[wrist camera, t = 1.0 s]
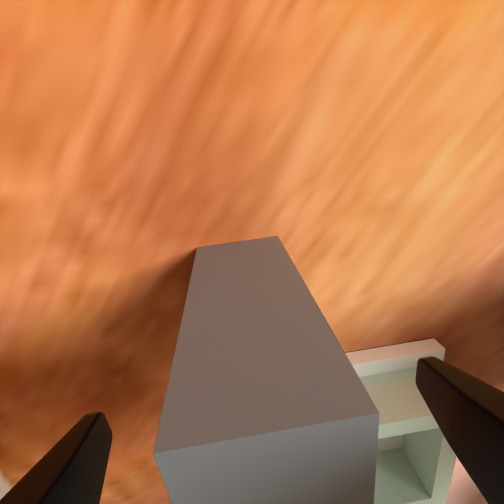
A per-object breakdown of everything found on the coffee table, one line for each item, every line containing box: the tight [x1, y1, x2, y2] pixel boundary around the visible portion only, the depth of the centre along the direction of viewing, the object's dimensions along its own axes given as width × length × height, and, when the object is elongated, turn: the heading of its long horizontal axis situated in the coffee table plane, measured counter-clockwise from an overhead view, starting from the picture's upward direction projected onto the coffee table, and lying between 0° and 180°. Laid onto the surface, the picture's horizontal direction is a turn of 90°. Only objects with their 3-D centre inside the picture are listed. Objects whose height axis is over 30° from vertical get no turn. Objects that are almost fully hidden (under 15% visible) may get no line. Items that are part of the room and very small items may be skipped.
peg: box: [153, 236, 380, 504], centre depth 10 cm, size 4×4×10 cm
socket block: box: [345, 338, 456, 504], centre depth 18 cm, size 10×10×4 cm
